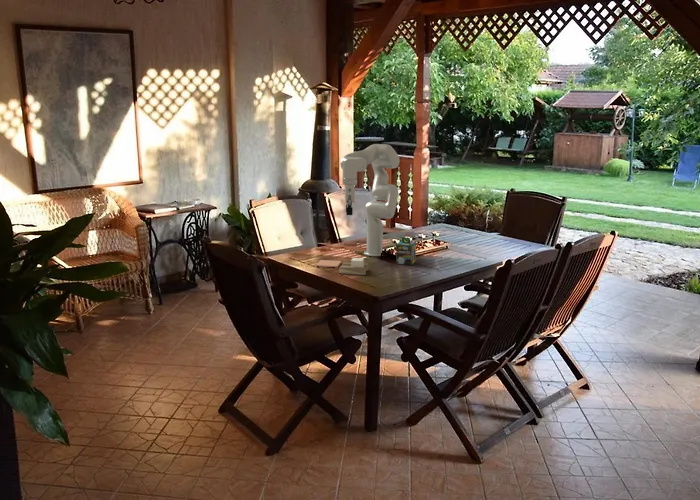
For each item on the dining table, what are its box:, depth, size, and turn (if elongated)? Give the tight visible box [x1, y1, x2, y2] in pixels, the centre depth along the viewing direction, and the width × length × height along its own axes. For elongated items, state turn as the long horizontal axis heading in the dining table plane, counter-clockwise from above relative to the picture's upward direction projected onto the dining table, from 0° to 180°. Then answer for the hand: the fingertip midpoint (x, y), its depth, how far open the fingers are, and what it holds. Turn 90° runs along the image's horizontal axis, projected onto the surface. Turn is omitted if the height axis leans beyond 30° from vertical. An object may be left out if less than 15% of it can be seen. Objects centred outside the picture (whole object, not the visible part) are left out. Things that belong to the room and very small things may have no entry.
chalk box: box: [395, 236, 417, 266], centre depth 365 cm, size 9×9×15 cm
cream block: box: [350, 257, 365, 268], centre depth 346 cm, size 6×6×7 cm
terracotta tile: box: [315, 259, 342, 269], centre depth 362 cm, size 12×12×1 cm
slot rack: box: [338, 262, 369, 276], centre depth 347 cm, size 10×14×4 cm
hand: (349, 213), depth 350 cm, fingers open, 9 cm apart
